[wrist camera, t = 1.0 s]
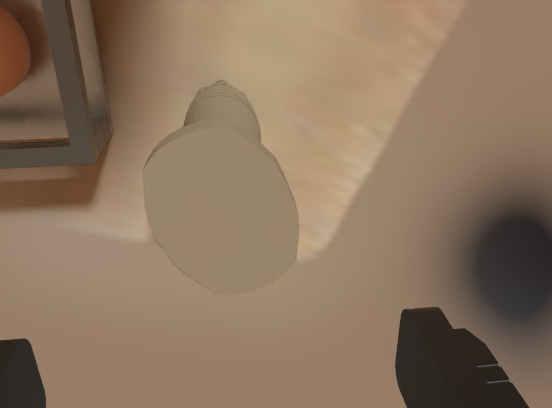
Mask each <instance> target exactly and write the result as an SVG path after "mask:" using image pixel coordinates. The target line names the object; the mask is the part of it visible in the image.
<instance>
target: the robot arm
mask: <svg viewBox="0 0 552 408" xmlns="http://www.w3.org/2000/svg"><path fill="white" fill-rule="evenodd" d="M395 368H396V377H397V382H398V386H399V389H400V392H401V394H402V396H403V399H404V401H405V404H406V406H407V408H529V407H528V405H527V404H526V402H525V401H524V399H523V398H522V397H521V395H520V394H519V392H518V391H517V389H516V388H515V387H514V385H513V384H512V383H510V382H509V378H508V376H507V375H506V373H505V372H504V370H503V369H502V368H501V367H499V366H498V362H497V360H496V359H495V357H494V356H493V355H492V353H491V352H490V350H489V349H488V347H487V346H486V344H485V343H483V342H482V341H481V340H479V339H478V338H477V337H475V336H474V335H473V334H472V333H470V332H469V331H468V330H466V329H464V328H462V329H453V328H452V326H451V325H450V323H449V322H448V320H447V318H446V317H445V315H444V314H443V312H442V311H441V309H440V308H438V307H429V308H415V309H404V310H403V312H402V314H401V319H400V327H399V335H398V344H397V352H396V362H395ZM0 408H46V396H45V391H44V387H43V384H42V380H41V377H40V374H39V370H38V367H37V364H36V360H35V357H34V354H33V350H32V347H31V344H30V342H29V341H28V340H27V339H13V340H0Z"/></svg>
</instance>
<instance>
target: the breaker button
mask: <svg viewBox="0 0 552 408" xmlns="http://www.w3.org/2000/svg"><path fill="white" fill-rule="evenodd" d="M30 60H31V52H30V46H29V42H28V39H27V37H26V34H25V32H24V30H23V29H22V27H21V25H20V24H19V23H18V21H17V20H16V19H15V18H14V17H13V16H12V15H11V14H10V13H9V12H8V11H7V10H6V9H4V8H3V7H2V6H0V97H2V96H4V95H5V94H7V93H9V92H10V91H12V90H13V89H15V88H16V87H17V86H19V85H20V84H21V82H22V81H23V80H24V78H25V77H26V75H27V73H28V70H29V67H30Z"/></svg>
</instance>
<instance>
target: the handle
mask: <svg viewBox="0 0 552 408" xmlns="http://www.w3.org/2000/svg"><path fill="white" fill-rule="evenodd" d="M143 184H144V200H145V210H146V215H147V220H148V223H149V225H150V227H151V229H152V231H153V233H154V235H155V237H156V238H157V240H158V241H159V243H160V245H161V246H162V248H163V250H164V251H165V253H166V255H167V256H168V257H169V259H170V260H171V261H172V262H173V264H174V265H175V266H176V267H177V268H178V269H179V270H180V271H182V272H183V273H184V274H185V275H187V276H188V277H190V278H191V279H193V280H194V281H196V282H197V283H199V284H200V285H202V286H204V287H205V288H207V289H208V290H210V291H211V292H213V293H215V294H224V295H225V294H226V295H229V294H230V295H231V294H232V295H234V294H241V293H246V292H250V291H253V290H256V289H259V288H262V287H263V286H266V285H268V284H270V283H272V282H274V281H275V280H277V279H278V278H280V277H281V276H283V275H284V274H285V273H286V272H287V271H288V270H289V269H290V268H291V266H292V265H293V264H294V263H295V261H296V258H297V248H298V236H299V218H298V212H297V208H296V204H295V200H294V198H293V195H292V192H291V190H290V188H289V185H288V183H287V181H286V178H285V176H284V174H283V172H282V169H281V167H280V165H279V163H278V161H277V160H276V158H275V156H274V155H273V154H272V153H271V152H270V151H268V150H267V149H266V148H265V147H264V146H263V145H262V144H261V133H260V127H259V124H258V120H257V117H256V114H255V112H254V110H253V108H252V106H251V104H250V102H249V101H248V98H247V97H246V95H245V94H244V93H243V92H240V91H239V90H237V89H236V88H234V87H232V86H229V85H228V83H227V82H226V81H223V80H219V81H217V83H216V84H214V85H212V86H210V87H208V88H204V87H203V88H201V89H200V90H199V91H198V93H197V94H196V97H195V98H194V100H193V101H192V103H191V104H190V106H189V109H188V111H187V114H186V117H185V122H184V126H183V127H182V128H180V129H178V130H177V131H175V132H173V133H171V134H170V135H168V136H167V137H166V138H164V139H163V140H162V141H161V142H160V143H159V144H158V145H157V146H156V147H155V149H154V150H153V151H152V153H151V154H150V156H149V158H148V159H147V161H146V164H145V166H144V169H143Z"/></svg>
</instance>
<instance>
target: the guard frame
mask: <svg viewBox="0 0 552 408" xmlns="http://www.w3.org/2000/svg"><path fill="white" fill-rule="evenodd" d="M0 6H2V7H3V8H4V9H6V10H7V11H8V12H9V13H10V14H11V15H12V16H13V17H14V18H15V19H16V20H17V21H18V23H19V24H20V25H21V27H22V29H23V30H24V32H25V34H26V37H27V39H28V42H29V46H30V52H31V60H30V67H29V70H28V73H27V75H26V77H25V78H24V80H23V81H22V82H21V84H20V85H19V86H17V87H16V88H15V89H13V90H12V91H10V92H9V93H7V94H5V95H4V96H2V97H0V141H7V140H29V139H51V138H69V141H47V142H26V143H4V144H0V169H5V168H25V167H45V166H64V165H84V164H95V162H96V160H97V159H98V157H99V155H100V154H101V152H102V150H103V149H104V147H105V145H106V144H107V142H108V140H109V139H110V137H111V136H112V134H113V128H112V122H111V116H110V110H109V103H108V97H107V91H106V85H105V79H104V72H103V66H102V60H101V54H100V48H99V41H98V35H97V29H96V23H95V17H94V11H93V4H92V0H0Z"/></svg>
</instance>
